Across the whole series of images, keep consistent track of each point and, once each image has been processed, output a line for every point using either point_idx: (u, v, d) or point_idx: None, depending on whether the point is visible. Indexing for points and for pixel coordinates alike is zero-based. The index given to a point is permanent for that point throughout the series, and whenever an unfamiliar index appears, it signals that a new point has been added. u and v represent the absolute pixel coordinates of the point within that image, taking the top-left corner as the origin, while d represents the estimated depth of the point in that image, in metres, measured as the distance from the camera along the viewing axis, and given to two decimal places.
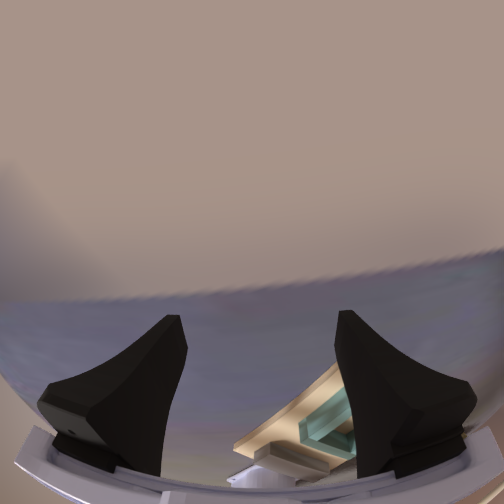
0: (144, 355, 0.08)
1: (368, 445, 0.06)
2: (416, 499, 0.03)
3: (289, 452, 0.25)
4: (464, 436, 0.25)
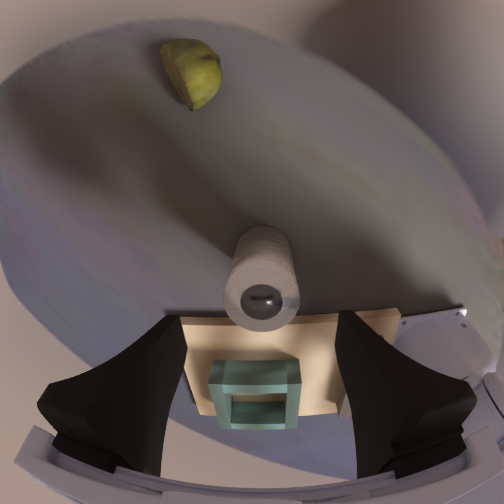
0: (144, 355, 0.08)
1: (368, 445, 0.06)
2: (416, 499, 0.03)
3: (340, 391, 0.24)
4: (167, 68, 0.14)
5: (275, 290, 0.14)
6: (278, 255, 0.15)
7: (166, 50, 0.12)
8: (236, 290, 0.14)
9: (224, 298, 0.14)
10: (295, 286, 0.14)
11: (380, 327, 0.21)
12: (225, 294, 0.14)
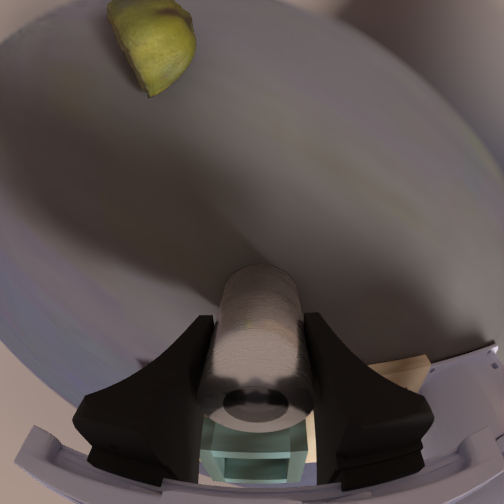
0: (185, 359, 0.08)
1: (323, 453, 0.07)
2: (416, 499, 0.03)
3: None
4: (120, 42, 0.08)
5: (278, 393, 0.08)
6: (283, 328, 0.09)
7: None
8: (216, 391, 0.08)
9: (198, 398, 0.08)
10: (310, 387, 0.08)
11: (405, 380, 0.15)
12: (199, 394, 0.08)
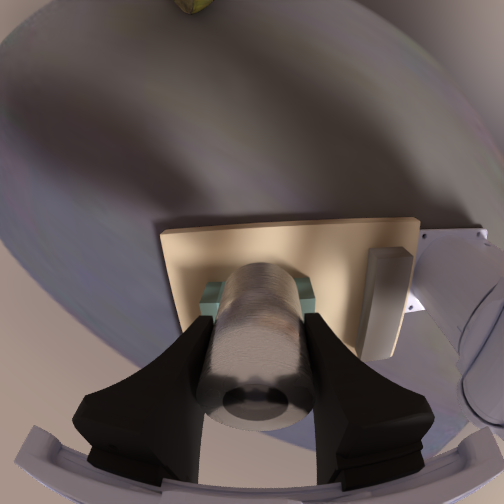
0: (185, 359, 0.08)
1: (323, 452, 0.07)
2: (416, 499, 0.03)
3: (360, 327, 0.21)
4: None
5: (278, 391, 0.08)
6: (284, 326, 0.09)
7: None
8: (215, 389, 0.08)
9: (198, 396, 0.08)
10: (310, 386, 0.08)
11: (399, 235, 0.19)
12: (199, 392, 0.08)
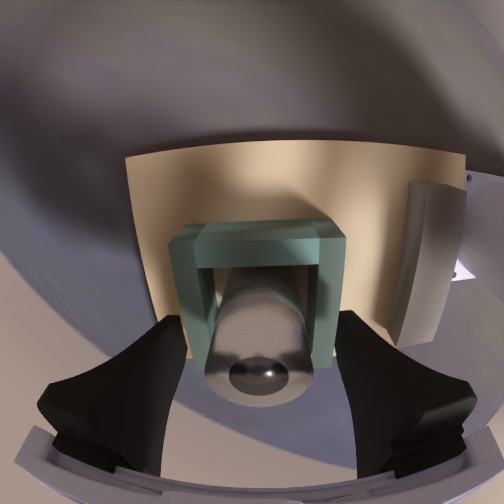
0: (144, 355, 0.08)
1: (368, 445, 0.06)
2: (416, 499, 0.03)
3: (397, 297, 0.15)
4: None
5: (279, 364, 0.09)
6: (284, 307, 0.10)
7: None
8: (223, 363, 0.09)
9: (206, 370, 0.09)
10: (308, 359, 0.09)
11: (444, 169, 0.12)
12: (207, 366, 0.09)
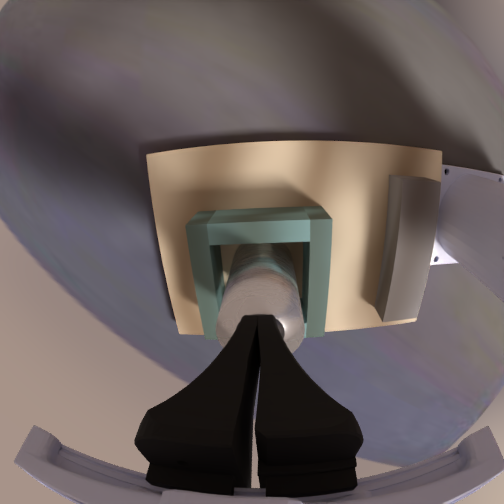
0: (245, 360, 0.08)
1: None
2: (416, 499, 0.03)
3: (382, 276, 0.18)
4: None
5: (277, 320, 0.12)
6: (281, 276, 0.13)
7: None
8: (231, 319, 0.12)
9: (217, 327, 0.12)
10: (300, 317, 0.11)
11: (421, 164, 0.15)
12: (218, 323, 0.12)
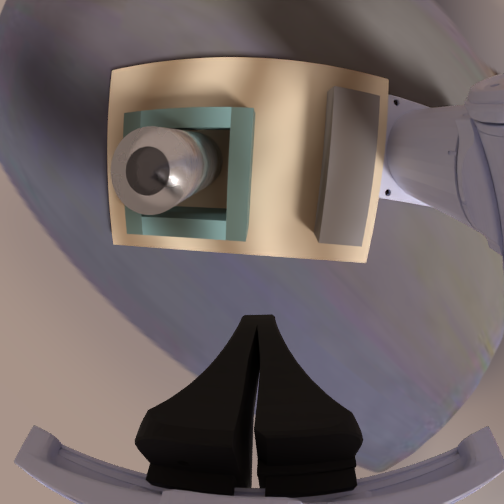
0: (246, 360, 0.08)
1: None
2: (416, 499, 0.03)
3: (320, 193, 0.17)
4: None
5: (163, 156, 0.11)
6: (188, 135, 0.12)
7: None
8: (125, 152, 0.11)
9: (112, 161, 0.11)
10: (186, 155, 0.11)
11: (364, 87, 0.15)
12: (114, 156, 0.11)
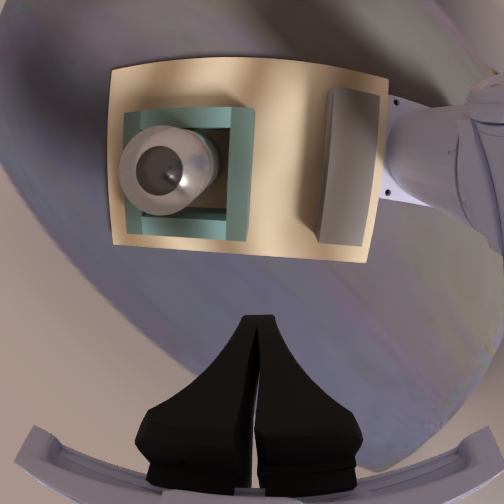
0: (246, 360, 0.08)
1: None
2: (416, 499, 0.03)
3: (320, 193, 0.17)
4: None
5: (177, 157, 0.11)
6: (197, 135, 0.12)
7: None
8: (136, 150, 0.11)
9: (121, 159, 0.11)
10: (201, 156, 0.11)
11: (364, 87, 0.15)
12: (124, 154, 0.11)
